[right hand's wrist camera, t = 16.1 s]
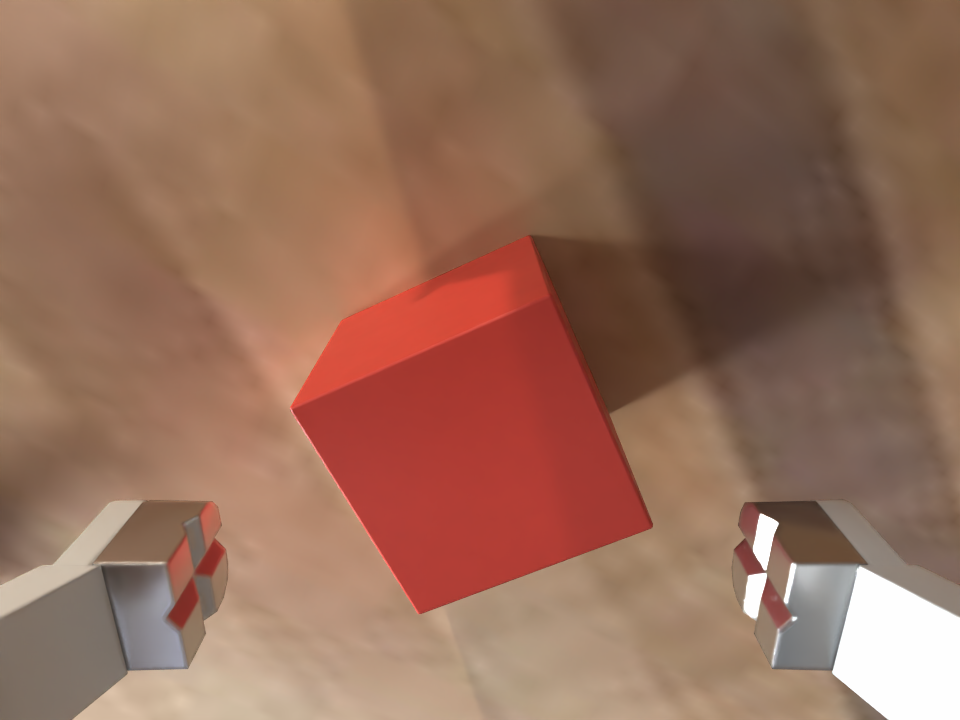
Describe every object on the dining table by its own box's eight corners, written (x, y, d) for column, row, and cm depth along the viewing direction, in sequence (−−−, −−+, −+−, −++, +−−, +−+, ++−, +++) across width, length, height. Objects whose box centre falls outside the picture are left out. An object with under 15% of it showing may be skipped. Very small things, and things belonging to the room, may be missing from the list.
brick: (530, 233, 16) (552, 293, 11) (609, 413, 17) (654, 528, 13) (340, 320, 16) (287, 409, 12) (433, 484, 18) (418, 616, 14)
